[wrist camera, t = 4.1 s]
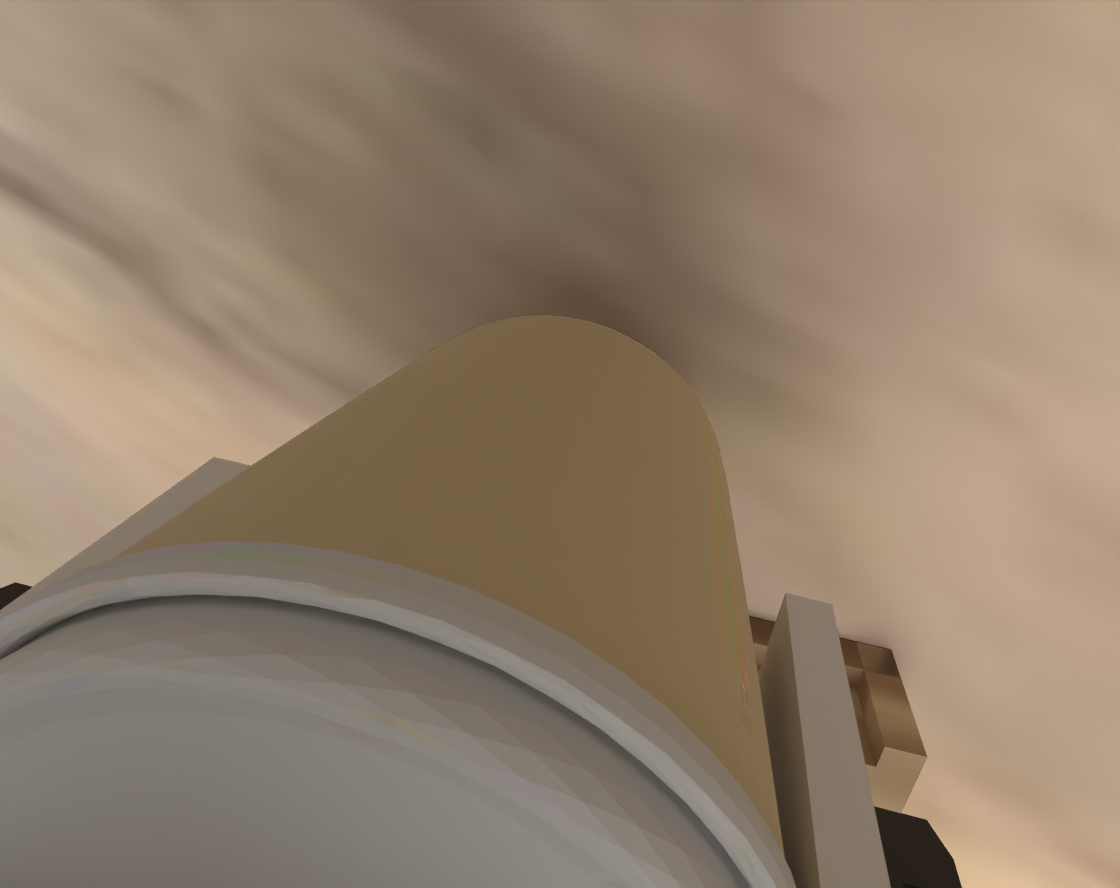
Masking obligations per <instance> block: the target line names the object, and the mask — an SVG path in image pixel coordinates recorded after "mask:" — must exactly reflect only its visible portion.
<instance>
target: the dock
mask: <svg viewBox="0 0 1120 888" xmlns="http://www.w3.org/2000/svg"><path fill="white" fill-rule="evenodd" d="M749 620H750V626H751V632H752V638H753V644H754V650H755V657H756V664H757V671H758V673H759V670H760V667H761V664H762V661H763V658H764V655H765V652H766V649H767V646H768V643H769V640H770V637H771V634H772V632H773V629H774V626H775V623H774V622H769V621H765V620H761V619H757V618H753V617H749ZM839 639H840V644H841V649H842V654H843V659H844V664H845V668H846V673H847V678H848V683H849V688H850V693H851V697H852V702H853V707H854V712H855V717H856V722H857V726H858V731H859V736H860V741H861V746H862V751H863V755H864V760H865V765H866V770H867V775H868V780H869V784H870V789H871V794H872V799H873V804H874V806H875V807H879V808H883V809H887V810H891V811H894V812H898V813H901V812H902V810H903V808H904V806H905V804H906V802H907V799H908V797H909V795H910V793H911V791H912V789H913V787H914V784H915V782H916V780H917V778H918V776H919V774H920V771H921V769H922V767H923V765H924V763H925V761H926V759H927V755H926V752H925V749H924V746H923V743H922V740H921V737H920V734H919V731H918V728H917V725H916V722H915V719H914V716H913V713H912V710H911V707H910V704H909V701H908V698H907V695H906V692H905V689H904V686H903V683H902V680H901V677H900V674H899V671H898V668H897V665H896V662H895V659H894V656H893V653H892V650H888V649H884V648H879V647H875V646H871V645H867V644H862V643H858V642H854V641H850V640H846V639H841V638H839Z"/></svg>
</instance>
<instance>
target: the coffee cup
mask: <svg viewBox="0 0 1120 888" xmlns="http://www.w3.org/2000/svg"><path fill="white" fill-rule="evenodd" d="M0 888H796V885H795V882H794V879H793V876H792V873H791V870H790V868H789V866H788V864H787V862H786V860H785V857H784V849H783V842H782V836H781V829H780V822H779V815H778V808H777V801H776V794H775V787H774V780H773V773H772V766H771V759H770V753H769V746H768V739H767V732H766V725H765V718H764V712H763V705H762V698H761V691H760V684H759V678H758V671H757V664H756V657H755V650H754V644H753V638H752V632H751V626H750V620H749V614H748V608H747V602H746V595H745V589H744V583H743V577H742V571H741V565H740V559H739V553H738V547H737V541H736V535H735V529H734V522H733V516H732V510H731V504H730V498H729V492H728V486H727V481H726V477H725V472H724V468H723V463H722V459H721V454H720V450H719V445H718V443H717V440H716V437H715V434H714V432H713V429H712V426H711V423H710V421H709V419H708V417H707V415H706V413H705V411H704V409H703V407H702V405H701V404H700V402H699V401H698V399H697V398H696V396H695V395H694V393H693V392H692V390H691V389H690V388H689V387H688V385H687V384H686V383H685V382H684V381H683V379H682V378H681V377H680V376H679V375H678V374H677V373H676V372H675V371H674V370H673V368H672V367H671V366H670V365H668V364H667V363H666V362H665V361H664V360H663V359H661V358H660V357H659V356H658V355H656V354H655V353H654V352H652V351H651V350H649V349H648V348H646V347H645V346H643V345H642V344H640V343H638V342H636V341H635V340H633V339H631V338H629V337H628V336H626V335H624V334H622V333H620V332H617V331H615V330H613V329H611V328H608V327H605V326H602V325H600V324H596V323H593V322H590V321H585V320H580V319H575V318H570V317H562V316H552V315H529V316H518V317H511V318H505V319H501V320H497V321H493V322H490V323H486V324H484V325H481V326H478V327H476V328H473V329H470V330H468V331H465V332H463V333H462V334H460V335H458V336H456V337H454V338H453V339H451V340H449V341H447V342H445V343H443V344H442V345H440V346H438V347H436V348H434V349H433V350H431V351H429V352H428V353H426V354H424V355H423V356H421V357H420V358H418V359H417V360H415V361H413V362H412V363H410V364H409V365H407V366H406V367H404V368H402V369H401V370H399V371H398V372H396V373H395V374H393V375H391V376H390V377H388V378H387V379H385V380H384V381H382V382H380V383H379V384H377V385H376V386H374V387H373V388H371V389H369V390H368V391H366V392H365V393H363V394H362V395H360V396H358V397H357V398H355V399H354V400H352V401H351V402H349V403H347V404H346V405H344V406H343V407H341V408H340V409H338V410H336V411H335V412H333V413H332V414H330V415H329V416H327V417H325V418H324V419H322V420H321V421H319V422H318V423H316V424H315V425H313V426H312V427H310V428H309V429H307V430H305V431H304V432H302V433H301V434H299V435H298V436H296V437H295V438H293V439H292V440H290V441H289V442H287V443H286V444H284V445H282V446H281V447H279V448H278V449H276V450H275V451H273V452H272V453H270V454H269V455H267V456H266V457H264V458H262V459H261V460H259V461H258V462H256V463H255V464H253V465H252V466H250V467H249V468H247V469H246V470H244V471H242V472H241V473H239V474H238V475H236V476H235V477H233V478H232V479H230V480H229V481H227V482H226V483H224V484H223V485H221V486H219V487H218V488H216V489H215V490H213V491H212V492H210V493H209V494H207V495H206V496H204V497H203V498H201V499H200V500H199V501H197V502H196V503H194V504H193V505H191V506H190V507H188V508H187V509H185V510H184V511H182V512H181V513H179V514H178V515H176V516H175V517H173V518H172V519H171V520H169V521H168V522H166V523H165V524H163V525H162V526H160V527H159V528H157V529H156V530H154V531H153V532H151V533H150V534H148V535H147V536H145V537H144V538H142V539H141V540H140V541H138V542H137V543H135V544H134V545H132V546H131V547H129V548H128V549H126V550H125V551H123V552H122V553H120V554H119V555H117V556H116V557H114V558H113V559H110V560H107V561H104V562H101V563H98V564H95V565H93V566H90V567H87V568H84V569H82V570H80V571H78V572H76V573H74V574H72V575H70V576H68V577H66V578H64V579H62V580H60V581H58V582H56V583H54V584H52V585H50V586H48V587H47V588H45V589H43V590H41V591H40V592H38V593H36V594H35V595H33V596H31V597H29V598H28V599H26V600H24V601H23V602H21V603H19V604H18V605H16V606H15V607H14V608H12V609H11V610H10V611H8V612H7V613H5V614H4V615H3V616H1V617H0Z"/></svg>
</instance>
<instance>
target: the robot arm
mask: <svg viewBox="0 0 1120 888" xmlns="http://www.w3.org/2000/svg"><path fill="white" fill-rule="evenodd" d="M249 467H250V466H249V465H245V464H241V463H237V462H233V461H228V460H224V459H220V458H216V457H213V458H212V459H211V460H209V461H208V462H206V463H205V464H204V465H202V466H201V467H200V468H198V469H197V470H195V471H194V472H193V473H191V474H190V475H188V476H187V477H186V478H184V479H183V480H181V481H180V482H179V483H177V484H176V485H174V486H173V487H172V488H170V489H169V490H167V491H166V492H165V493H163V494H162V495H160V496H159V497H158V498H156V499H155V500H153V501H152V502H151V503H149V504H148V505H146V506H145V507H144V508H142V509H141V510H139V511H138V512H137V513H135V514H134V515H132V516H131V517H130V518H128V519H127V520H125V521H124V522H123V523H121V524H120V525H118V526H117V527H116V528H114V529H113V530H112V531H110V532H109V533H107V534H106V535H105V536H103V537H102V538H100V539H99V540H98V541H96V542H95V543H93V544H92V545H91V546H89V547H88V548H86V549H85V550H84V551H82V552H81V553H79V554H78V555H77V556H75V557H74V558H72V559H71V560H70V561H68V562H67V563H65V564H64V565H63V566H61V567H60V568H58V569H57V570H56V571H54V572H53V573H51V574H50V575H49V576H47V577H46V578H44V579H43V580H42V581H40V582H39V583H37V584H36V585H35V586H33V587H31V586H27V585H23V584H19V583H16V582H15V583H13V584H10V585H8V586H5V587H3V588H0V617H1V616H3V615H4V614H5V613H7V612H8V611H10V610H11V609H12V608H14V607H15V606H16V605H18V604H19V603H21V602H23V601H24V600H26V599H28V598H29V597H31V596H33V595H35V594H36V593H38V592H40V591H41V590H43V589H45V588H47V587H48V586H50V585H52V584H54V583H56V582H58V581H60V580H62V579H64V578H66V577H68V576H70V575H72V574H74V573H76V572H78V571H80V570H82V569H84V568H87V567H90V566H93V565H95V564H98V563H101V562H104V561H107V560H110V559H113V558H114V557H116V556H117V555H119V554H120V553H122V552H123V551H125V550H126V549H128V548H129V547H131V546H132V545H134V544H135V543H137V542H138V541H140V540H141V539H142V538H144V537H145V536H147V535H148V534H150V533H151V532H153V531H154V530H156V529H157V528H159V527H160V526H162V525H163V524H165V523H166V522H168V521H169V520H171V519H172V518H173V517H175V516H176V515H178V514H179V513H181V512H182V511H184V510H185V509H187V508H188V507H190V506H191V505H193V504H194V503H196V502H197V501H199V500H200V499H201V498H203V497H204V496H206V495H207V494H209V493H210V492H212V491H213V490H215V489H216V488H218V487H219V486H221V485H223V484H224V483H226V482H227V481H229V480H230V479H232V478H233V477H235V476H236V475H238V474H239V473H241V472H242V471H244V470H246V469H247V468H249ZM758 678H759V684H760V691H761V698H762V705H763V712H764V718H765V725H766V732H767V739H768V746H769V753H770V759H771V766H772V773H773V780H774V787H775V794H776V801H777V808H778V815H779V822H780V829H781V836H782V842H783V849H784V857H785V860H786V862H787V864H788V866H789V868H790V870H791V873H792V876H793V879H794V882H795V885H796V888H962V887H961V883H960V880H959V876H958V873H957V870H956V866H955V863H954V860H953V858H952V856H951V855H950V853H949V852H948V851H947V849H946V848H945V846H944V845H943V843H942V842H941V840H940V839H939V837H938V836H937V834H936V833H935V831H934V830H933V829H932V827H931V826H930V824H929V823H928V821H927V820H925V819H921V818H917V817H913V816H910V815H906V814H902V813H898V812H894V811H891V810H887V809H883V808H879V807H875V806H874V804H873V799H872V794H871V789H870V784H869V780H868V775H867V770H866V765H865V760H864V755H863V751H862V746H861V741H860V736H859V731H858V726H857V722H856V717H855V712H854V707H853V702H852V697H851V693H850V688H849V683H848V678H847V673H846V668H845V664H844V659H843V654H842V649H841V644H840V639H839V635H838V630H837V625H836V620H835V615H834V610H833V606H832V604H829V603H825V602H821V601H816V600H812V599H808V598H804V597H800V596H795V595H791V594H787V593H785V596H784V599H783V602H782V605H781V608H780V611H779V614H778V617H777V620H776V623H775V626H774V629H773V632H772V634H771V637H770V640H769V643H768V646H767V649H766V652H765V655H764V658H763V661H762V664H761V667H760V670H759V673H758Z"/></svg>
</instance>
